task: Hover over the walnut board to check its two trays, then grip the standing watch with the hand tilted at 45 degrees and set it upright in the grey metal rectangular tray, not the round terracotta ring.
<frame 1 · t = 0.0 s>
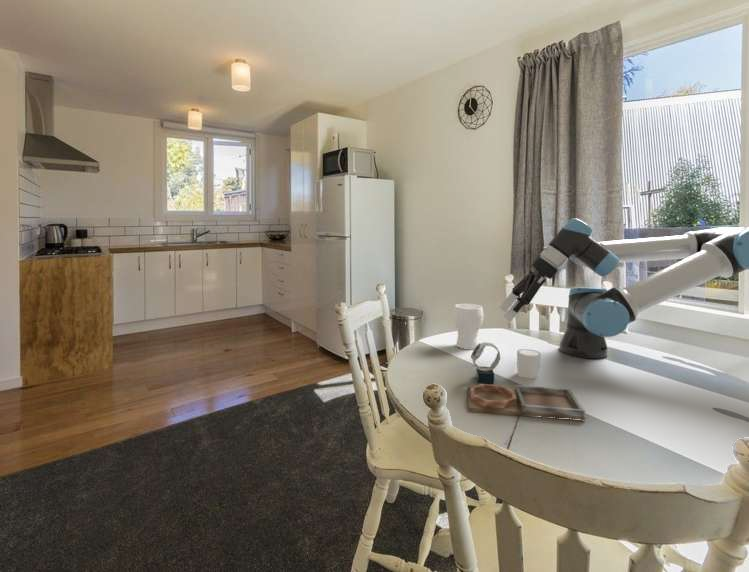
hand: (504, 313, 135), 15 cm above the table, tool tilted 35°, fingers open, 13 cm apart
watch: (484, 380, 119), on the table
white cylinder: (527, 375, 124), on the table
cup: (466, 346, 151), on the table
sorting board: (521, 404, 104), on the table
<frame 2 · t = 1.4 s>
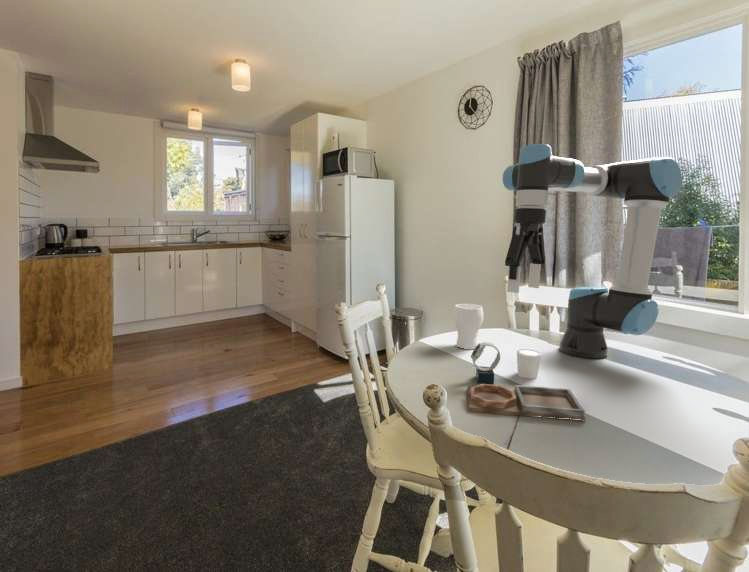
hand: (523, 289, 109), 28 cm above the table, tool pointing down, fingers open, 13 cm apart
nothing on the table moved.
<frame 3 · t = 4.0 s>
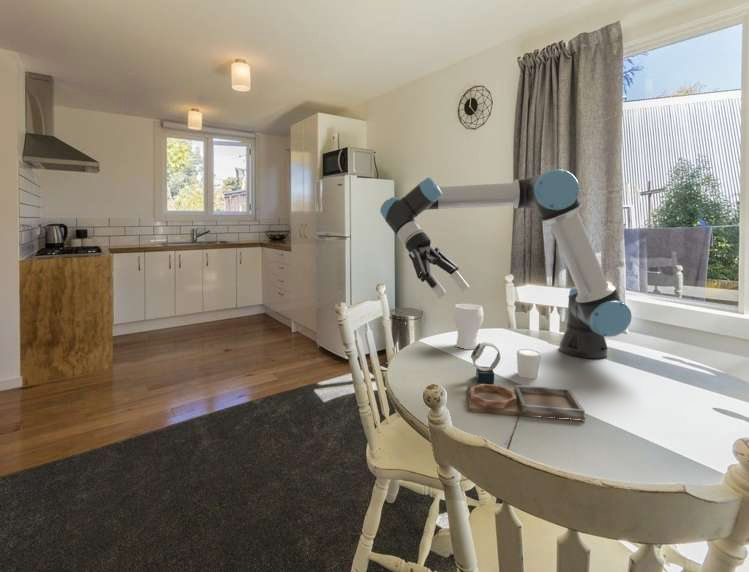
hand: (454, 292, 122), 25 cm above the table, tool tilted 45°, fingers open, 13 cm apart
nothing on the table moved.
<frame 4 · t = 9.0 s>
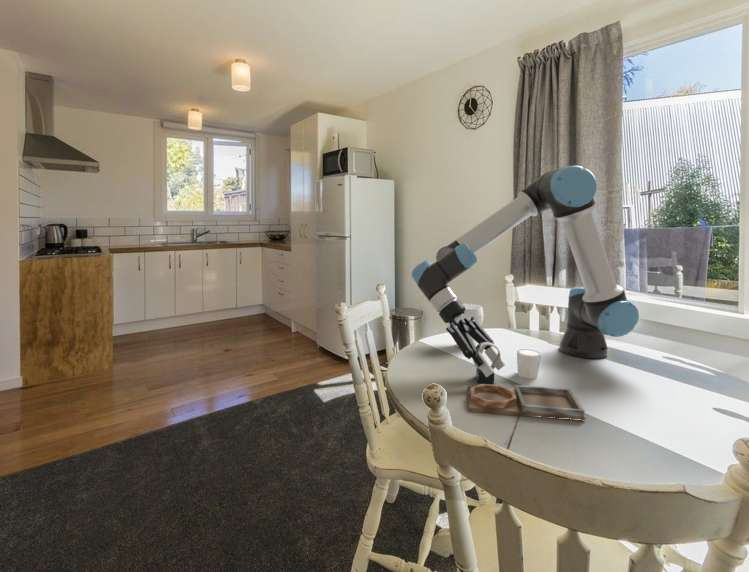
hand: (496, 370, 116), 4 cm above the table, tool tilted 45°, fingers closed on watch, 7 cm apart
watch: (484, 380, 119), on the table, touching gripper
everything else where it was.
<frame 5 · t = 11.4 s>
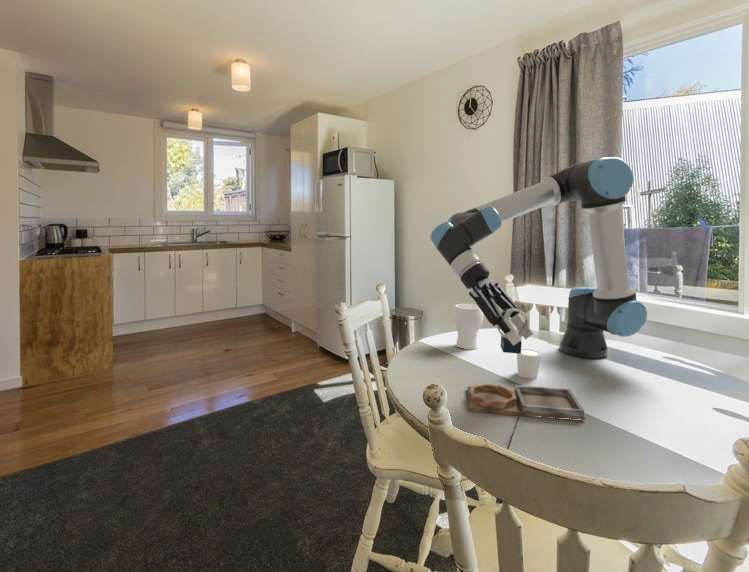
hand: (523, 339, 106), 16 cm above the table, tool tilted 45°, fingers closed on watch, 7 cm apart
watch: (509, 350, 109), point 12 cm above the table, touching gripper
everything else where it was.
when the fingers open (6 cm above the table, at t = 14.3 s): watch drops 1 cm, resting on sorting board.
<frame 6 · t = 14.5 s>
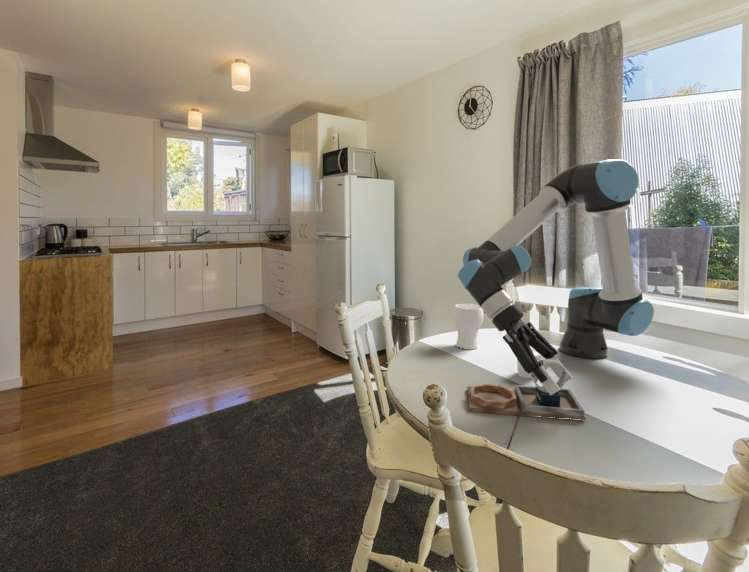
hand: (562, 386, 99), 6 cm above the table, tool tilted 45°, fingers open, 9 cm apart
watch: (546, 403, 102), point 1 cm above the table, touching sorting board
everything else where it was.
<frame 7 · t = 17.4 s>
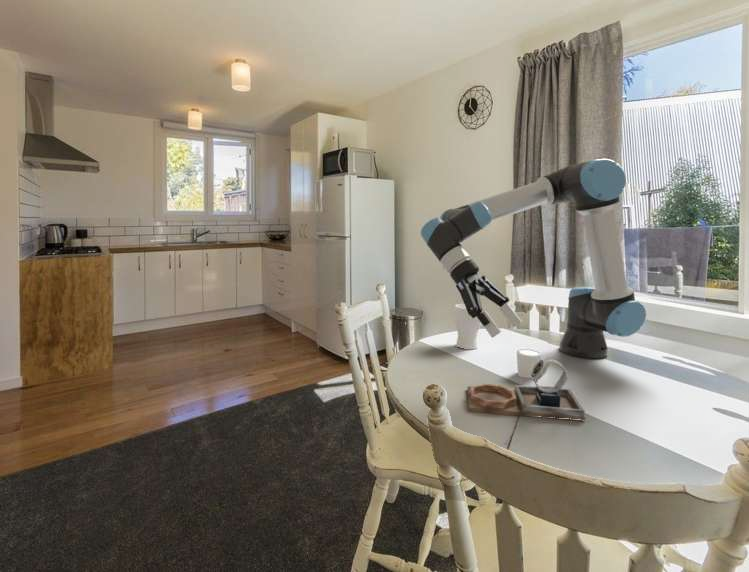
hand: (507, 329, 108), 17 cm above the table, tool tilted 45°, fingers open, 13 cm apart
nothing on the table moved.
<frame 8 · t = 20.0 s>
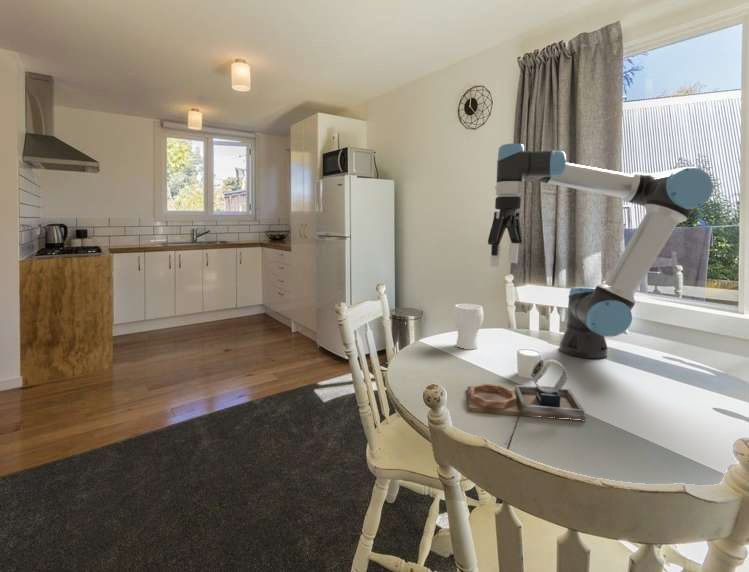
hand: (504, 264, 131), 32 cm above the table, tool pointing down, fingers open, 13 cm apart
nothing on the table moved.
at the end: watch 0.1 cm from the target spot on the sorting board, point 0.8 cm above the sorting board's base; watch tilted 0°; the gripper is holding nothing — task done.
